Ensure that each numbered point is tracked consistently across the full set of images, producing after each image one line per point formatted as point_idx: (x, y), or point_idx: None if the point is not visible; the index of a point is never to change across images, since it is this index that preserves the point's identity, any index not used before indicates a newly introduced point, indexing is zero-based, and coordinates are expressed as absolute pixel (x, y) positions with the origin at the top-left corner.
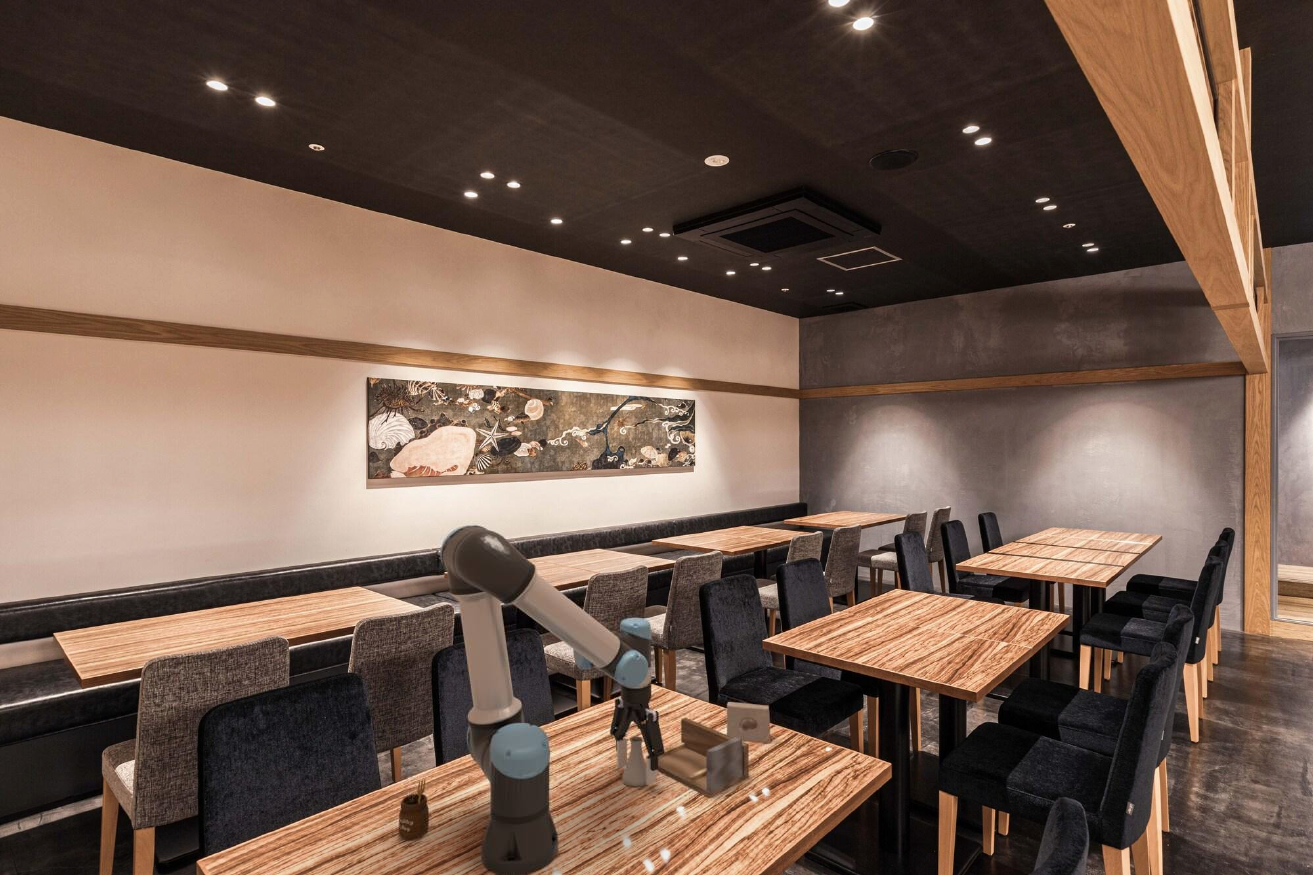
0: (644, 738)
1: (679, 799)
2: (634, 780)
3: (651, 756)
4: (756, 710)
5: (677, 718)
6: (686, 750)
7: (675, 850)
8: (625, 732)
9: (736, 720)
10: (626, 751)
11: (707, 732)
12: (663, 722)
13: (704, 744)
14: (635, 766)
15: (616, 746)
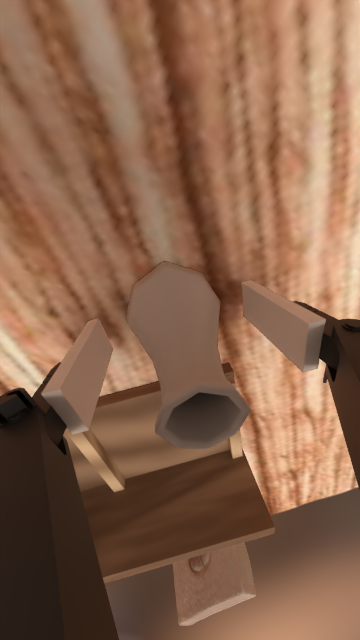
0: (22, 520)
1: (16, 365)
2: (137, 293)
3: (3, 414)
4: (194, 607)
5: (334, 460)
6: (216, 448)
7: None
8: (335, 394)
9: (217, 552)
10: (267, 335)
11: (169, 548)
12: (345, 441)
13: (176, 497)
14: (148, 320)
15: (312, 310)
